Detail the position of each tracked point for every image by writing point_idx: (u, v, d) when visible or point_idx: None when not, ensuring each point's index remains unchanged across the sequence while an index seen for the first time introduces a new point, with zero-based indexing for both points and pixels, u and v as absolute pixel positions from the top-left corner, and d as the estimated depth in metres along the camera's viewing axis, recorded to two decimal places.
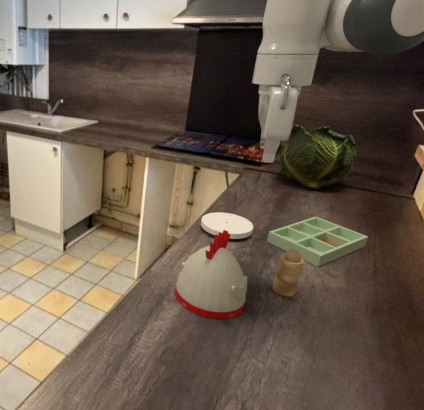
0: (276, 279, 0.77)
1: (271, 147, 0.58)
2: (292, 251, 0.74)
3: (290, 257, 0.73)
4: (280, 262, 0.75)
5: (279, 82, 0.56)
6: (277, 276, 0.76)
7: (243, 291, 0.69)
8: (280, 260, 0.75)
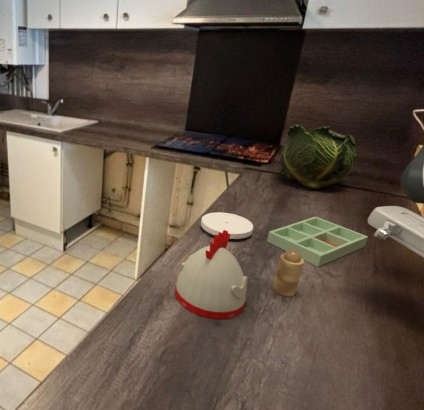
0: (276, 279, 0.77)
1: (381, 227, 0.66)
2: (292, 251, 0.74)
3: (290, 257, 0.73)
4: (280, 262, 0.75)
5: None
6: (277, 276, 0.76)
7: (243, 291, 0.69)
8: (280, 260, 0.75)
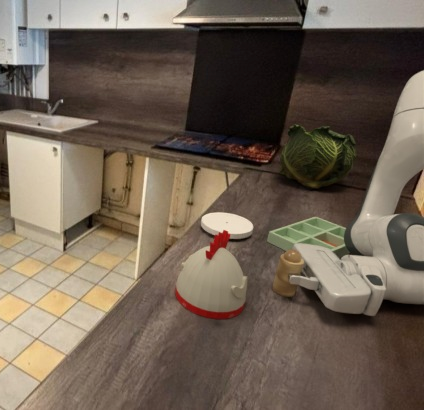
0: (276, 279, 0.77)
1: None
2: (292, 251, 0.74)
3: (290, 257, 0.73)
4: (280, 262, 0.75)
5: None
6: (277, 276, 0.76)
7: (243, 291, 0.69)
8: (280, 260, 0.75)
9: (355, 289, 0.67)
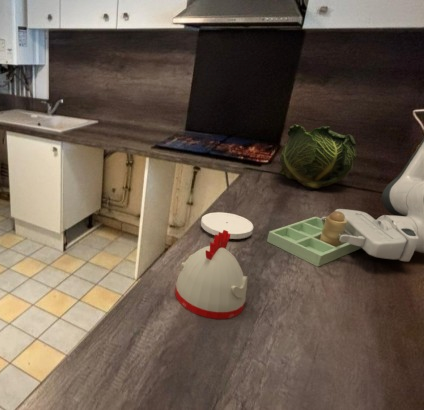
0: (322, 236, 0.92)
1: None
2: (337, 212, 0.89)
3: (336, 217, 0.89)
4: (326, 222, 0.91)
5: None
6: (323, 234, 0.92)
7: (243, 291, 0.69)
8: (326, 220, 0.91)
9: (393, 239, 0.82)
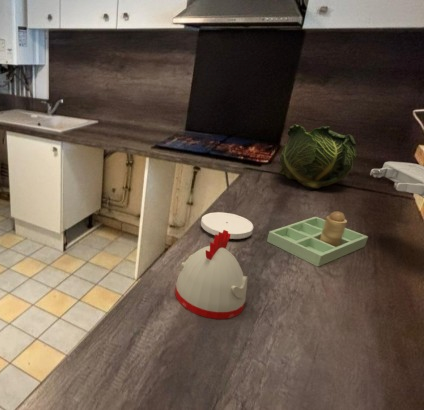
0: (322, 236, 0.92)
1: None
2: (337, 212, 0.89)
3: (336, 217, 0.89)
4: (326, 222, 0.91)
5: None
6: (323, 234, 0.92)
7: (243, 291, 0.69)
8: (326, 220, 0.91)
9: None
